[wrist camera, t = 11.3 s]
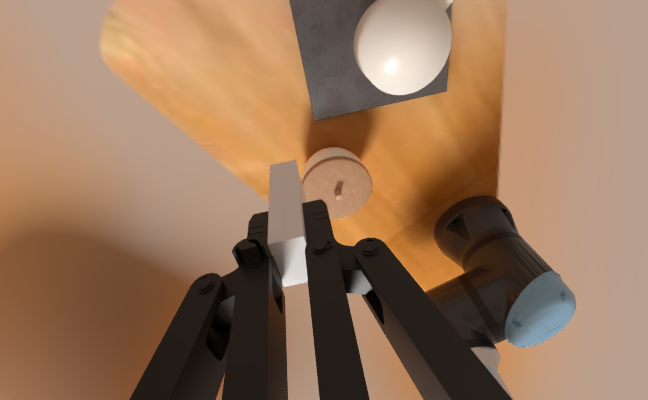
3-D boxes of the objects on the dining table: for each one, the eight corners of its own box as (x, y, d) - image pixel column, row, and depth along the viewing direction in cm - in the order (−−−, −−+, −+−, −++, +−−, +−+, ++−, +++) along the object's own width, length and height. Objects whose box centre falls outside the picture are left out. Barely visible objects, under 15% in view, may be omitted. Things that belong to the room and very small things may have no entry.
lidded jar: (312, 201, 57) (318, 235, 49) (287, 152, 51) (289, 182, 43) (368, 179, 56) (383, 210, 48) (349, 126, 50) (363, 153, 42)
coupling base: (442, 88, 48) (474, 109, 40) (313, 117, 48) (320, 143, 40) (449, -86, 36) (496, -103, 29) (279, -48, 36) (280, -55, 29)
